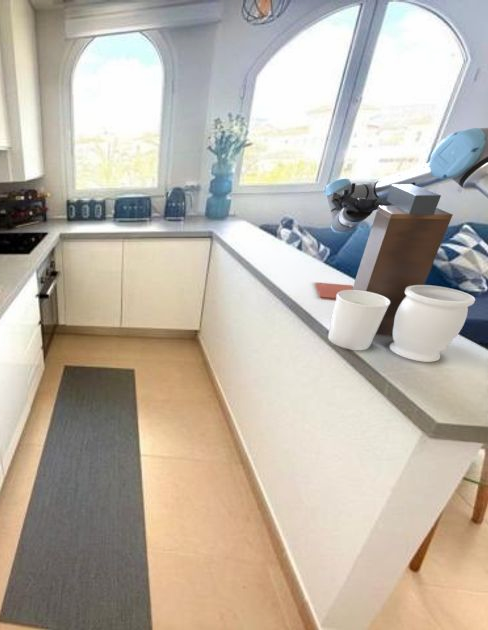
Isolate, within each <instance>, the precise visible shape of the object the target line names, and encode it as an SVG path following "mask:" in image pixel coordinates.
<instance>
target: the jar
mask: <svg viewBox="0 0 488 630" xmlns="http://www.w3.org/2000/svg"><path fill="white" fill-rule="evenodd" d="M405 295H406V297H405V298H404V299H403V301H402V302H401V304H400V305H399V307H398V309H397V312H396V315H395V319H394V327H393V336H392V340H393V342H391V343H390V344H389V349H390V351H392V352H393V353H394V354H396V355H398V356H399V357H400V356H401V357H402V358H405V359H409V360H411V361H417V362H422V363H423V362H424V363H431V362H433V363H434V362H437V361H439V360H440V358H441V354H440V353H441V352H443V351H444V350H446V349H447V348H448V347H449V346H450V345H451V344H452V342H453V341H454V339H455V338H456V337H457V336H458V334H459V333H460V332H461V330H462V329H463V327H464V325H465V322H466V320H467V317H468V312H469V307H471V306H473V305H474V304H475V302H476V298H475V297H474V296H473V295H472V294H470V293H467V292H464V291H462V290H458V289H456V288H455V289H454V288H450V287H446V286H440V285H439V286H438V285H430V284H424V285H413V286H409V287H406V289H405Z"/></svg>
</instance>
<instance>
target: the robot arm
mask: <svg viewBox="0 0 488 630" xmlns="http://www.w3.org/2000/svg"><path fill="white" fill-rule="evenodd" d="M453 181H454V182H455V183H456V184H457V185H459V186H460V187H461V188H462V189H463V190H465V191H467V192H470V191H471V192H472V191H478V192H480V193H481V194H482V195H483V196H485V197H486V198H487V199H488V127H471V128H467V129H462V130H458V131H455V132H453V133H451V134H449V135H448V136H446V137H444V138H443V139H442V140H441V141H440V142H439V143H438V144H437V145H436V146H435V148H434V149H433V151H432V153H431V155H430V160H429V162H428V163H425V164H422V165H418V166H416V167H413V168H410V169H407V170H404V171H401V172H398V173H395V174H392V175H389V176H385V177H383V178H380V179H377V180H374V181H372V182H364V183H356V182H353V183H352V182H351V180H350V179H349V178H347V177H342V178H338V179H335V180H333V181H331V182H330V183H327V185H326V186H325V195H326V199H327V202H328V206H329V210H330V215H331V222H330V230H331V231H332V232H333V233H336V234H338V235H345V234H347V233H349V232H351V231H353V230H354V229H356V228H357V226H359V225H360V224H361V223H362V222H364V221H365V220H366V219H368V218H369V217H370V216H371V215H372V214H373V212H374V211H377V209H378V206H395V205H393V204H391V203H390V202H388V201H387V197H388V194H389V191H390V188H391V185H403V184H412V185H415V186H417V187H420V188H423V189H428V188H431V187H436V186H438V185H442V184H446V183H451V182H453Z"/></svg>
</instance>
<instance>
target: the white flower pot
mask: <svg viewBox="0 0 488 630" xmlns="http://www.w3.org/2000/svg"><path fill="white" fill-rule="evenodd" d="M389 305H390V300H389V299H388V298H386V297H384V296H382V295H379V294H376V293H372V292H367V291H360V290H344V291H340V292H338V293H337V295H336V299H335V301H334V306H333V307H334V308H333V311H332V316H331V320H330V325H329V330H328V333H327V339H328V341H329V342H330V343H332V344H333V345H335V346H338V347H339V348H341V349H342V348H343V349H345V350H346V349H347V350H351V351H366V350H368V349H369V348H370V347H371V345H372V343H373V341H374V340H375V339H374V338H375V336H376V335H377V334H376V332H377V330H378V328H379V326H380V324H381V321H382V319H383V317H384V315H385V313H386V311H387V308H388V306H389Z"/></svg>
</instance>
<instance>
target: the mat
mask: <svg viewBox="0 0 488 630" xmlns="http://www.w3.org/2000/svg"><path fill="white" fill-rule="evenodd" d="M315 287H316V289H317V293H318V295H319V297H320V299H325V300H326V299H327V300H336V295H337V293H338V292H340V291H344V290H352V289H353V285H351V284H338V283H325V282H315Z"/></svg>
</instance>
